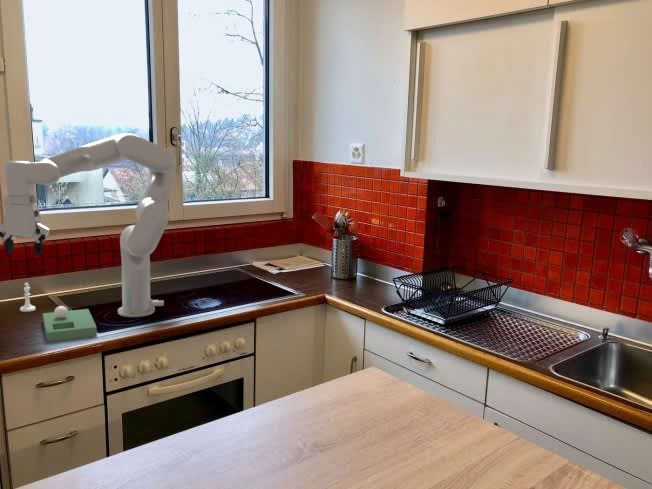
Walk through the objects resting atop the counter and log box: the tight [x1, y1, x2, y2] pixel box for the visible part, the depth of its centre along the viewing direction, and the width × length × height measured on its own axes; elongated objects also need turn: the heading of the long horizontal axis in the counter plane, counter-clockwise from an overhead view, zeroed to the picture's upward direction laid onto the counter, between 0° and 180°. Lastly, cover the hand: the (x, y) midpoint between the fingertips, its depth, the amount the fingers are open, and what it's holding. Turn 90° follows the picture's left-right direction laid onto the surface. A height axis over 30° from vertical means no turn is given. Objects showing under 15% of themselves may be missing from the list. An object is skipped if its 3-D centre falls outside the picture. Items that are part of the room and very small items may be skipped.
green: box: [42, 308, 98, 343], centre depth 178 cm, size 14×20×3 cm
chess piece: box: [19, 281, 37, 313], centre depth 194 cm, size 5×5×10 cm
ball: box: [53, 305, 69, 318], centre depth 179 cm, size 4×4×4 cm
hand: (24, 253), depth 176 cm, fingers open, 9 cm apart
